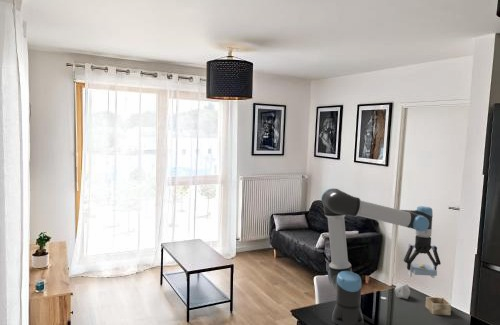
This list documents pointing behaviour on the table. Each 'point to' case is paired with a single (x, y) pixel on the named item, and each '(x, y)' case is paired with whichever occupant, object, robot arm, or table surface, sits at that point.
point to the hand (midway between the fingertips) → (421, 276)
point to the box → (438, 306)
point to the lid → (423, 270)
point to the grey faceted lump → (402, 291)
